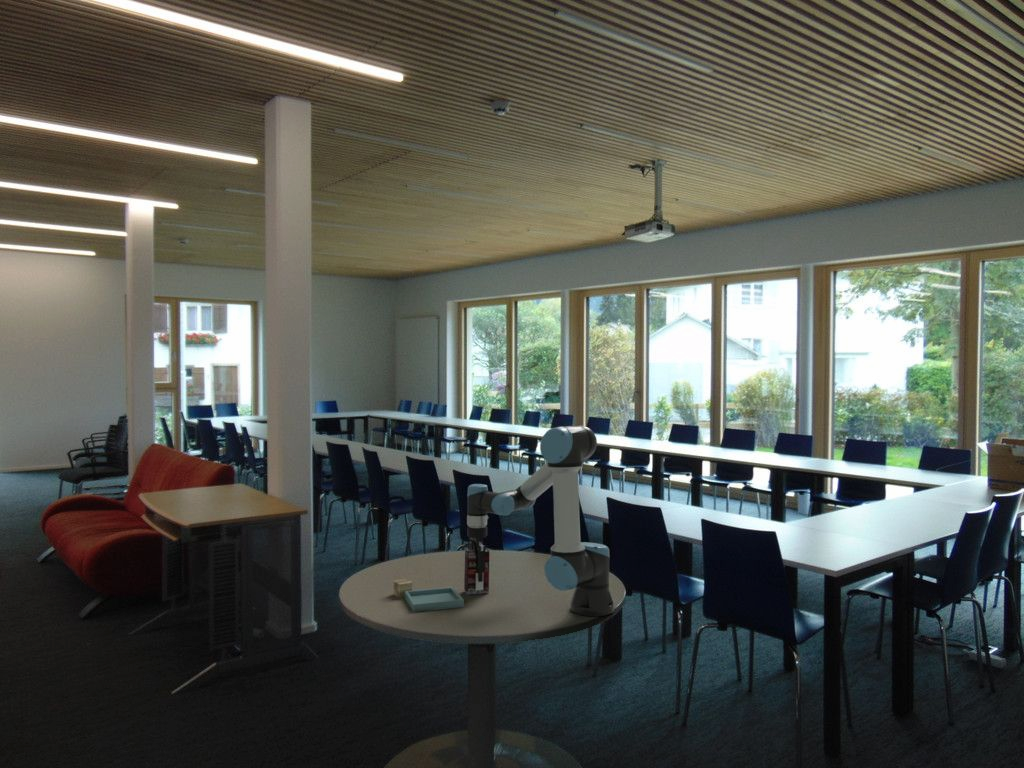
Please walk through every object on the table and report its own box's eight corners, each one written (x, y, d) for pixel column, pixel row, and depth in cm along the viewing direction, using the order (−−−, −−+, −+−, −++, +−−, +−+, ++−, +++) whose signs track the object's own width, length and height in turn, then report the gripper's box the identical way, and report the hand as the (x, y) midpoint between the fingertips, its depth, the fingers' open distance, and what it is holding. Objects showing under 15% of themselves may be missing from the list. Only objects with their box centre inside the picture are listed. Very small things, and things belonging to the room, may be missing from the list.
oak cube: (411, 595, 276) (411, 582, 275) (399, 598, 273) (399, 584, 273) (405, 592, 280) (405, 579, 280) (393, 594, 277) (393, 581, 277)
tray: (463, 606, 263) (463, 599, 263) (413, 611, 257) (413, 604, 257) (452, 593, 278) (452, 586, 278) (404, 598, 272) (404, 591, 272)
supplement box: (467, 595, 277) (467, 552, 276) (463, 591, 281) (464, 549, 281) (489, 593, 279) (490, 551, 279) (486, 589, 284) (486, 547, 283)
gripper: (494, 530, 272) (494, 593, 272) (479, 520, 290) (479, 579, 291) (474, 532, 269) (474, 595, 270) (460, 521, 288) (460, 580, 288)
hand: (476, 587), depth 280 cm, fingers open, 6 cm apart
